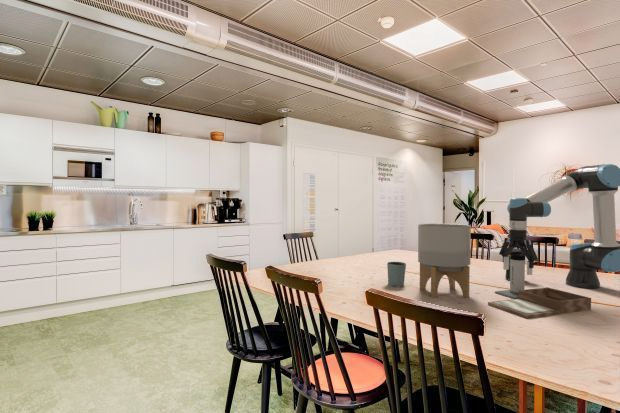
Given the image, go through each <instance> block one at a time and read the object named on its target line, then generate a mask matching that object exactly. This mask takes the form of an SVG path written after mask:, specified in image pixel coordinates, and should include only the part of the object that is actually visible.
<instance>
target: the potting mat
mask: <svg viewBox="0 0 620 413" xmlns="http://www.w3.org/2000/svg"><path fill="white" fill-rule="evenodd" d="M494 294H497V295H500V296H504V297H506V298H510V299H519V294H513V293H511V292H510V289H504V290H496V291H494Z"/></svg>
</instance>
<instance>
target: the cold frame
mask: <svg viewBox="0 0 620 413" xmlns="http://www.w3.org/2000/svg"><path fill="white" fill-rule="evenodd" d="M487 305H488V306H491V307H492V308H496V309H499V310H502V311H503V312H507V313H510V314H513V315H515V314H516V315H515V316H519V317H522V318H524V319H527V320H529V319H533V318H534V319H535V318H541V317H549V316H553V315H554V316H555V315H562V314H563V315H564V314H571V313H577V312H584V311H585V312H586V311H590V310H592V298H591V297H589V296H585V295H581V294H576V293H572V292H569V291H568V292H567V291H564V290H560V289H556V288H552V287H547V286H546V287H540V288H539V287H538V288H530V289H529V288H528V289H527V288H526V289H524V290H519V299H513V298H510V299H503V300H495V301H489V302H488V301H487Z"/></svg>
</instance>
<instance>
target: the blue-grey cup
mask: <svg viewBox="0 0 620 413" xmlns="http://www.w3.org/2000/svg"><path fill="white" fill-rule="evenodd" d="M386 265H387V285H388V286H391V287H404V286H405V278H406V277H405V276H406V267H407V263H405V262H401V261H387V263H386Z"/></svg>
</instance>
